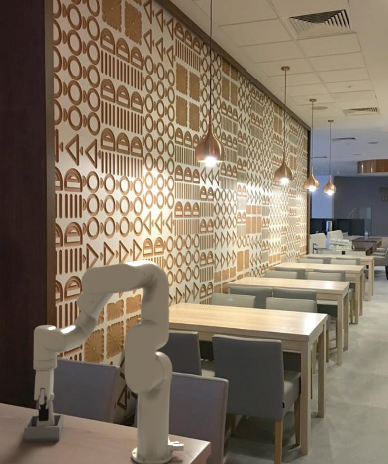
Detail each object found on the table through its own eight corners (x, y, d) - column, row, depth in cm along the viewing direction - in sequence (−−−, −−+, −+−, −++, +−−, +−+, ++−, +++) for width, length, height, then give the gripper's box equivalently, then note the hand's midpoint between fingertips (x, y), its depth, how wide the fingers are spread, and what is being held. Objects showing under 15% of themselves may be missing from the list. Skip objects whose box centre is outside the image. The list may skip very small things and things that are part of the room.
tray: (63, 427, 176) (63, 414, 176) (59, 440, 165) (59, 427, 165) (30, 428, 175) (30, 415, 175) (24, 442, 164) (24, 428, 164)
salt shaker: (55, 428, 173) (59, 390, 173) (51, 435, 167) (54, 396, 167) (38, 426, 173) (41, 388, 173) (33, 433, 167) (36, 394, 167)
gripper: (38, 356, 177) (37, 408, 178) (29, 370, 161) (28, 428, 161) (60, 356, 178) (59, 408, 179) (53, 370, 162) (52, 427, 162)
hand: (44, 417), depth 170 cm, fingers open, 4 cm apart
